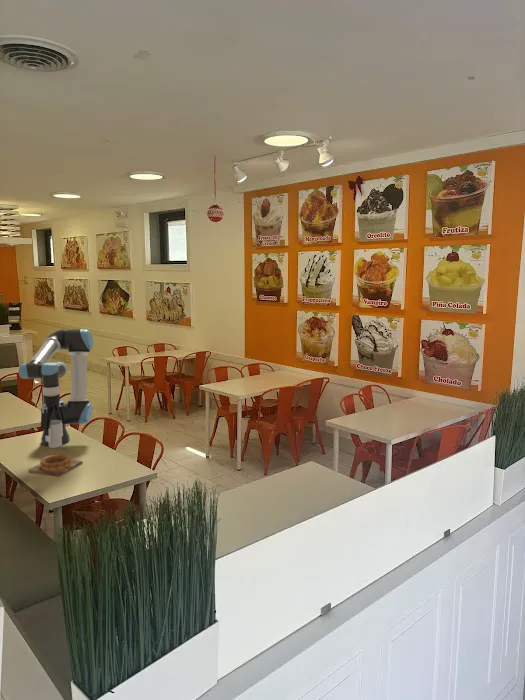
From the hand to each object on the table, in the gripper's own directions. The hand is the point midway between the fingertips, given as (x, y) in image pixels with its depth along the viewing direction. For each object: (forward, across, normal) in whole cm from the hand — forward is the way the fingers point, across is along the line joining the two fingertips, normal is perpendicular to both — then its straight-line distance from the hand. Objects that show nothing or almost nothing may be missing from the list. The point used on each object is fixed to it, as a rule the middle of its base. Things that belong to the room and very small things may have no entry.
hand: (54, 438), depth 264 cm
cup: (+4, 0, 0) cm, 4 cm away
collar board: (+15, 0, 0) cm, 15 cm away
